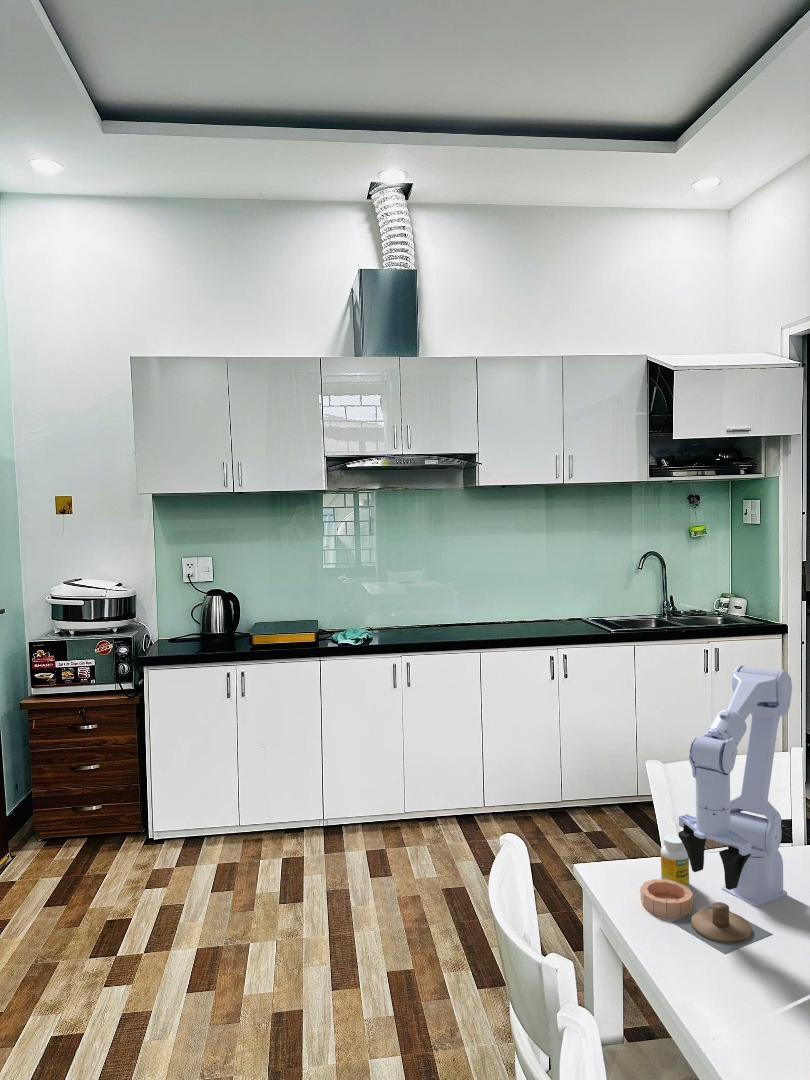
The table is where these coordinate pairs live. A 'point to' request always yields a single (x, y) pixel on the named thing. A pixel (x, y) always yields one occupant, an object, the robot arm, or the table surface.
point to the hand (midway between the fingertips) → (714, 878)
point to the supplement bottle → (674, 860)
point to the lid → (721, 924)
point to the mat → (725, 948)
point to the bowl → (666, 898)
